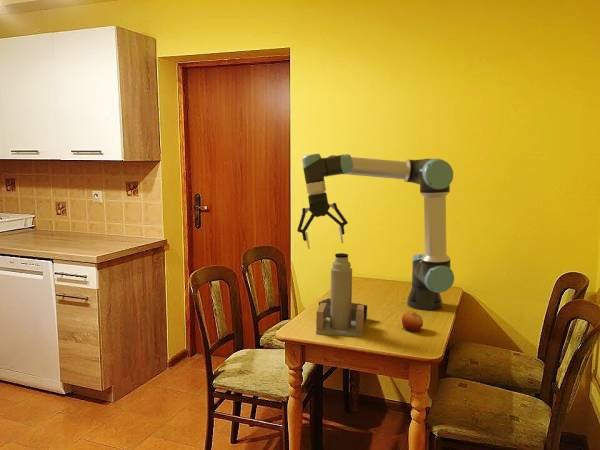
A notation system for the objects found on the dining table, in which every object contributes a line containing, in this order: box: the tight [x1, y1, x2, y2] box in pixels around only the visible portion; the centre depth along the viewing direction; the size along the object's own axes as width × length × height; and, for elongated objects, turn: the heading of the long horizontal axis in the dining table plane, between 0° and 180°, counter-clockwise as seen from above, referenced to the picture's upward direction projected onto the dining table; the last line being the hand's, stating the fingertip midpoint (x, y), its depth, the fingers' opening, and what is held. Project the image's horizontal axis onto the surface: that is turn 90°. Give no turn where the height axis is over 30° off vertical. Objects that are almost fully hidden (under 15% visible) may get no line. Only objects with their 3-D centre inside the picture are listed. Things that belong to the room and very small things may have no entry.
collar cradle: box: [315, 303, 365, 338], centre depth 197 cm, size 17×14×8 cm
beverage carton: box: [318, 298, 368, 321], centre depth 211 cm, size 8×19×7 cm, turn 55°
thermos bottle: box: [329, 252, 353, 329], centre depth 195 cm, size 8×8×28 cm
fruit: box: [401, 310, 424, 333], centre depth 196 cm, size 8×8×8 cm
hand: (325, 245), depth 206 cm, fingers open, 13 cm apart
